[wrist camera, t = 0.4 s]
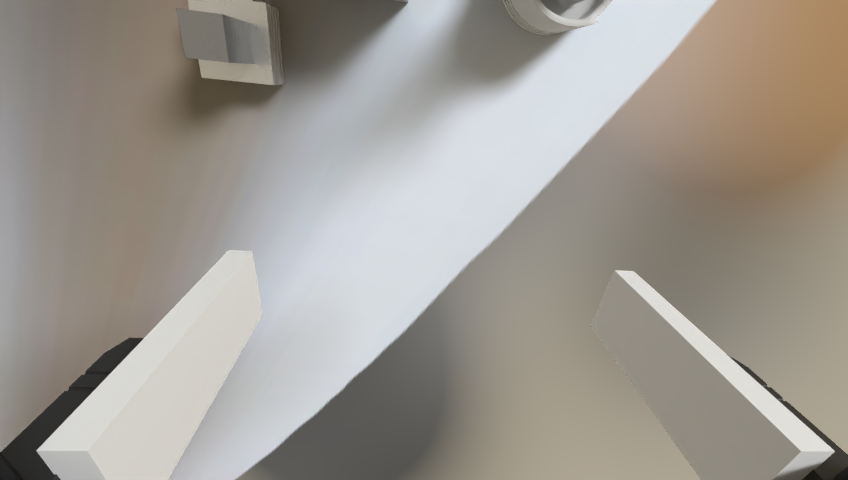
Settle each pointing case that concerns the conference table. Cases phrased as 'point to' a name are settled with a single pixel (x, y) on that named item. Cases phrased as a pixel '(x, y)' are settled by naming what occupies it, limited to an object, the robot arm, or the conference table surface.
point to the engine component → (554, 14)
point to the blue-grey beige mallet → (233, 40)
